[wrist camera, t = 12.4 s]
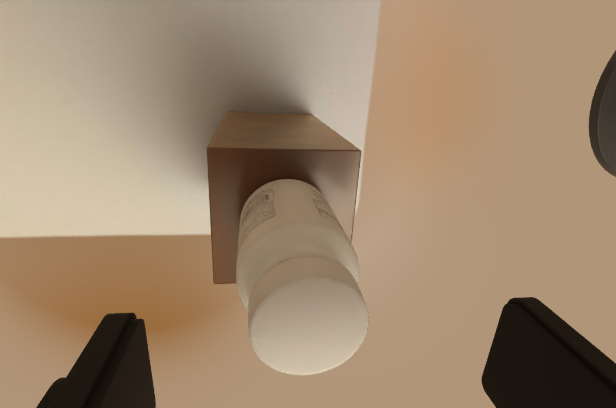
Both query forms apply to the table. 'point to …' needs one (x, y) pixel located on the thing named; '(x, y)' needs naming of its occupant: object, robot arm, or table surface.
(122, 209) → the table surface
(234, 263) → the display block
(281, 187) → the pill bottle
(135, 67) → the table surface
